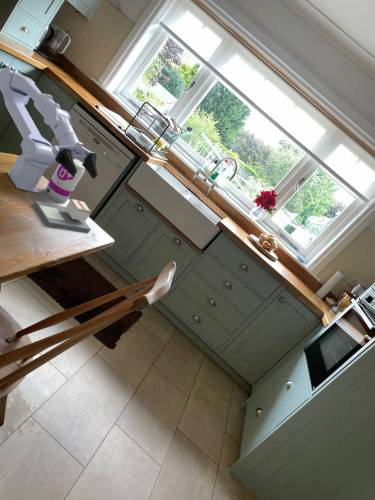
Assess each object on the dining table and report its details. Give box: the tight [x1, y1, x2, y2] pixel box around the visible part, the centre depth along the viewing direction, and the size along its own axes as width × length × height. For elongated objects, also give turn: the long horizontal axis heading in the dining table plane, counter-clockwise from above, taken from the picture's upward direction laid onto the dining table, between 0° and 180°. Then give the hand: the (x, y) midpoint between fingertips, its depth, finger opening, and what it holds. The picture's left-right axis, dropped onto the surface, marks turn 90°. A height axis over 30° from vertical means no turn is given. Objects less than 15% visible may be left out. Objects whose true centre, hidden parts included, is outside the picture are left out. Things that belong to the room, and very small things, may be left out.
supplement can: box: [45, 159, 86, 203], centre depth 133 cm, size 8×8×15 cm
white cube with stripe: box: [65, 198, 92, 222], centre depth 126 cm, size 5×5×4 cm
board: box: [32, 200, 91, 234], centre depth 124 cm, size 11×16×2 cm
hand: (85, 175), depth 114 cm, fingers open, 7 cm apart
